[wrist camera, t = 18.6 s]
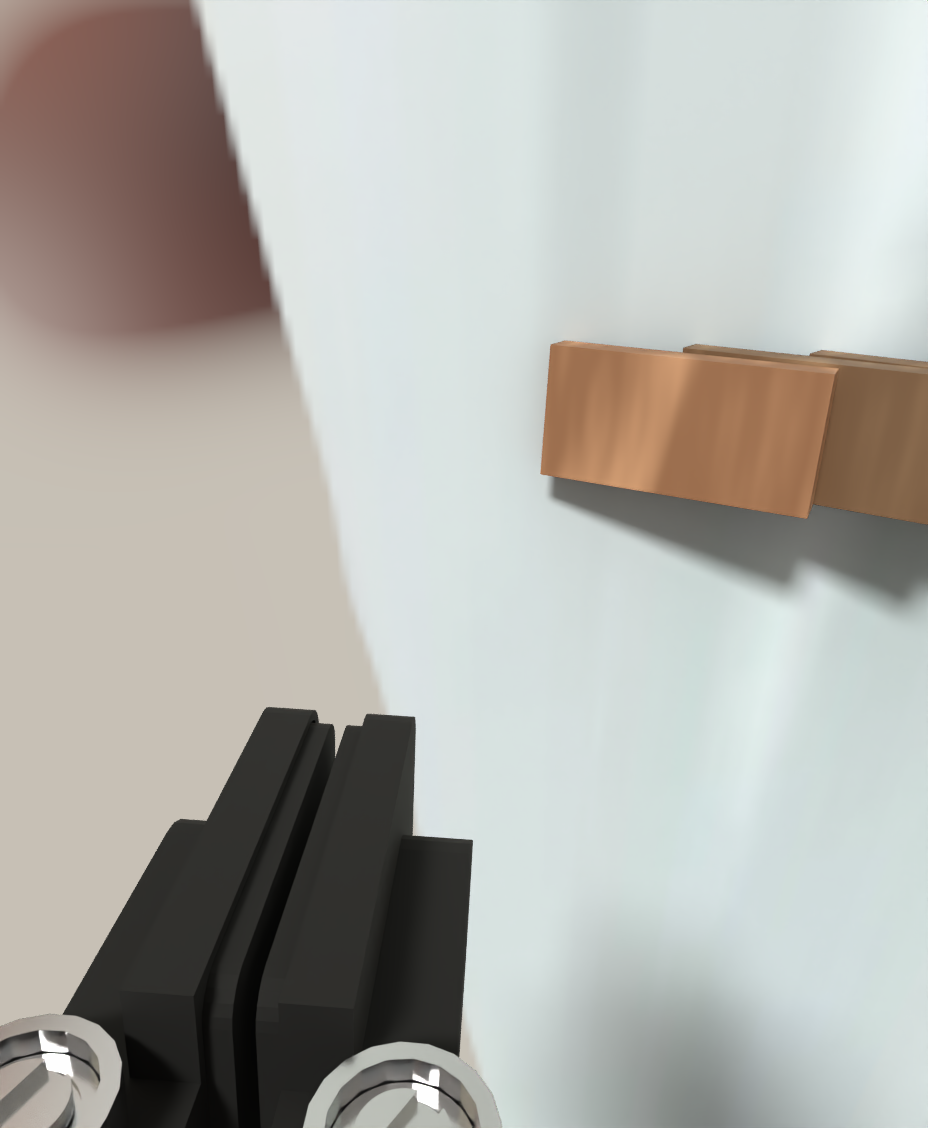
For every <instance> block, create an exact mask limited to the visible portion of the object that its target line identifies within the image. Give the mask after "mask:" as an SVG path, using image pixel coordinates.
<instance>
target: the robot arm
mask: <svg viewBox="0 0 928 1128" xmlns="http://www.w3.org/2000/svg"><path fill="white" fill-rule="evenodd" d="M415 734H416V724H415V717H408V716H393V715H378V714H367V715H366V717H365V719H364V722H363V726H351V725H348V726H346V728H345V731H344V734H343V737H342V740H341V743H340V746H339V749H338V752H337V754H336V757H335V730H334V726H333V725H332V724H321V723H319V721H318V715H317V712H316V711H315V710H303V709H289V708H274V707H268V708H266V709H265V710H264V711H263V713H262V715H261V717H260V719H259V721H258V723H257V725H256V727H255V728H254V730H253V732H252V734H251V736H250V738H249V740H248V742H247V744H246V746H245V748H244V750H243V752H242V754H241V756H240V758H239V759H238V761H237V763H236V765H235V767H234V769H233V771H232V773H231V775H230V777H229V779H228V781H227V783H226V785H225V787H224V788H223V790H222V792H221V794H220V796H219V798H218V800H217V802H216V804H215V806H214V808H213V810H212V812H211V814H210V815H209V818H208V819H207V821H200V820H187V819H180V820H178V821H176V822H174V824H173V825H172V826H171V828H170V829H169V830H168V832H167V833H166V835H165V837H164V838H163V840H162V842H161V844H160V846H159V847H158V849H157V851H156V852H155V854H154V856H153V858H152V859H151V861H150V863H149V865H148V866H147V868H146V870H145V872H144V873H143V875H142V877H141V879H140V880H139V882H138V884H137V886H136V887H135V889H134V891H133V893H132V894H131V896H130V898H129V900H128V901H127V903H126V905H125V907H124V908H123V910H122V912H121V914H120V915H119V917H118V919H117V921H116V922H115V924H114V926H113V927H112V929H111V931H110V933H109V935H108V936H107V938H106V940H105V941H104V943H103V945H102V947H101V948H100V950H99V952H98V954H97V955H96V957H95V959H94V961H93V962H92V964H91V966H90V968H89V969H88V971H87V973H86V975H85V976H84V978H83V980H82V982H81V983H80V985H79V987H78V989H77V990H76V992H75V994H74V996H73V997H72V999H71V1001H70V1003H69V1004H68V1006H67V1008H66V1009H65V1011H64V1013H63V1015H57V1014H46V1015H40V1016H34V1017H28V1018H22V1019H18V1020H15V1021H13V1022H10V1023H8V1024H5V1025H2V1026H0V1128H502V1122H501V1119H500V1116H499V1112H498V1109H497V1106H496V1103H495V1100H494V1096H493V1094H492V1092H491V1091H490V1089H489V1088H488V1087H487V1085H486V1084H485V1082H484V1081H483V1080H482V1078H481V1077H480V1075H479V1074H478V1073H477V1071H476V1070H474V1069H473V1068H472V1067H470V1066H469V1065H468V1064H467V1063H465V1062H464V1061H463V1060H461V1059H460V1058H459V1052H460V1037H461V1022H462V1007H463V992H464V977H465V962H466V946H467V930H468V914H469V898H470V881H471V865H472V847H473V840H465V839H451V838H438V837H424V836H412V834H413V801H414V768H415Z"/></svg>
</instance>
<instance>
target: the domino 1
mask: <svg viewBox="0 0 928 1128" xmlns="http://www.w3.org/2000/svg"><path fill="white" fill-rule="evenodd" d="M838 372H839V369H838V368H829V367H819V366H809V365H799V364H789V363H780V362H770V361H760V360H750V359H740V358H730V357H721V356H711V355H701V354H691V353H681V352H671V351H662V350H652V349H642V348H632V347H622V346H612V345H603V344H593V343H583V342H573V341H562V342H559V343H555V344H551V346H550V359H549V372H548V384H547V397H546V410H545V423H544V436H543V448H542V461H541V474H542V475H548V476H554V477H560V478H566V479H572V480H578V481H584V482H590V483H596V484H602V485H608V486H614V487H620V488H626V489H632V490H638V491H644V492H650V493H656V494H662V495H668V496H674V497H680V498H685V499H691V500H697V501H703V502H709V503H715V504H721V505H727V506H733V507H739V508H745V509H751V510H757V511H763V512H769V513H775V514H781V515H787V516H793V517H799V518H805V519H807V518H808V516H809V513H810V511H811V509H812V505H813V500H814V495H815V490H816V485H817V480H818V475H819V469H820V464H821V459H822V454H823V449H824V444H825V439H826V433H827V428H828V423H829V418H830V413H831V408H832V403H833V397H834V392H835V387H836V382H837V377H838Z"/></svg>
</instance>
